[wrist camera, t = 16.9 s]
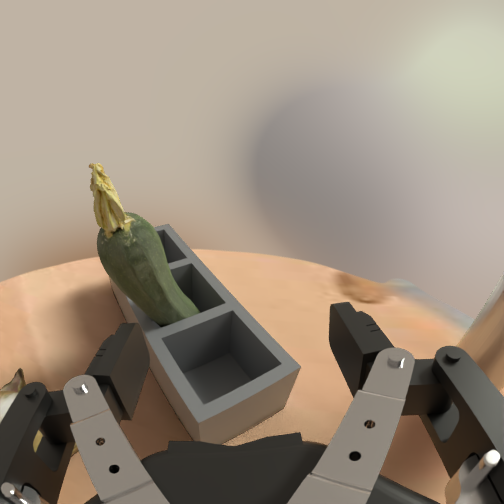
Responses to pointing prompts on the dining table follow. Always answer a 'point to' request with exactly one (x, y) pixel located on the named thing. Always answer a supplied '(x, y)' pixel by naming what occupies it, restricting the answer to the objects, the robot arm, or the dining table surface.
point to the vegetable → (136, 256)
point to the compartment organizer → (212, 354)
